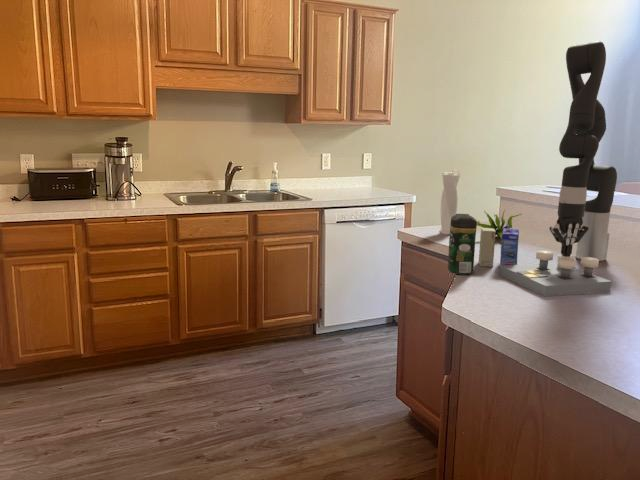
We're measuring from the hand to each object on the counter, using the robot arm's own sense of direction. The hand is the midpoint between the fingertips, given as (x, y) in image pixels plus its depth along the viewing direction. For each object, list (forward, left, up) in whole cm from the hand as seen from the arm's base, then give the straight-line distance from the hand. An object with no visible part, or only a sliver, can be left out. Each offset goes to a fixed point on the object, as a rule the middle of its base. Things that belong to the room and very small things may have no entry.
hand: (565, 256), depth 174 cm
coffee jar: (+29, -12, -7) cm, 33 cm away
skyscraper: (+3, -69, -7) cm, 70 cm away
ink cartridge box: (+10, -14, -7) cm, 19 cm away
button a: (0, 0, -5) cm, 5 cm away
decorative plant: (-8, -47, -7) cm, 48 cm away
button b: (0, +10, -3) cm, 11 cm away
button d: (+8, +10, -3) cm, 13 cm away
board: (+8, +5, -7) cm, 12 cm away
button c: (+8, 0, -3) cm, 9 cm away
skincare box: (+16, -18, -7) cm, 26 cm away
